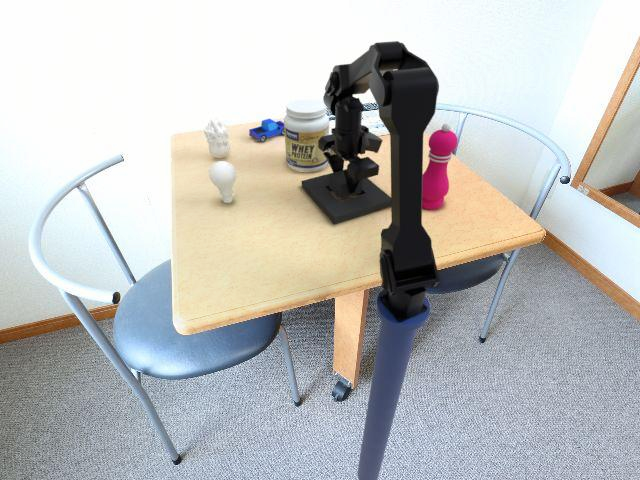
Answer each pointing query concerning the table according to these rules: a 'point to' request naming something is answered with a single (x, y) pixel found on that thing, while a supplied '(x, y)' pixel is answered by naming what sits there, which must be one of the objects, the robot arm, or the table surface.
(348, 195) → the small pad
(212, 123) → the figurine
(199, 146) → the table surface
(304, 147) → the supplement tub
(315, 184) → the socket pad
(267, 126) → the toy car
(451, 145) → the pepper mill
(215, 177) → the lightbulb
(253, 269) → the table surface
